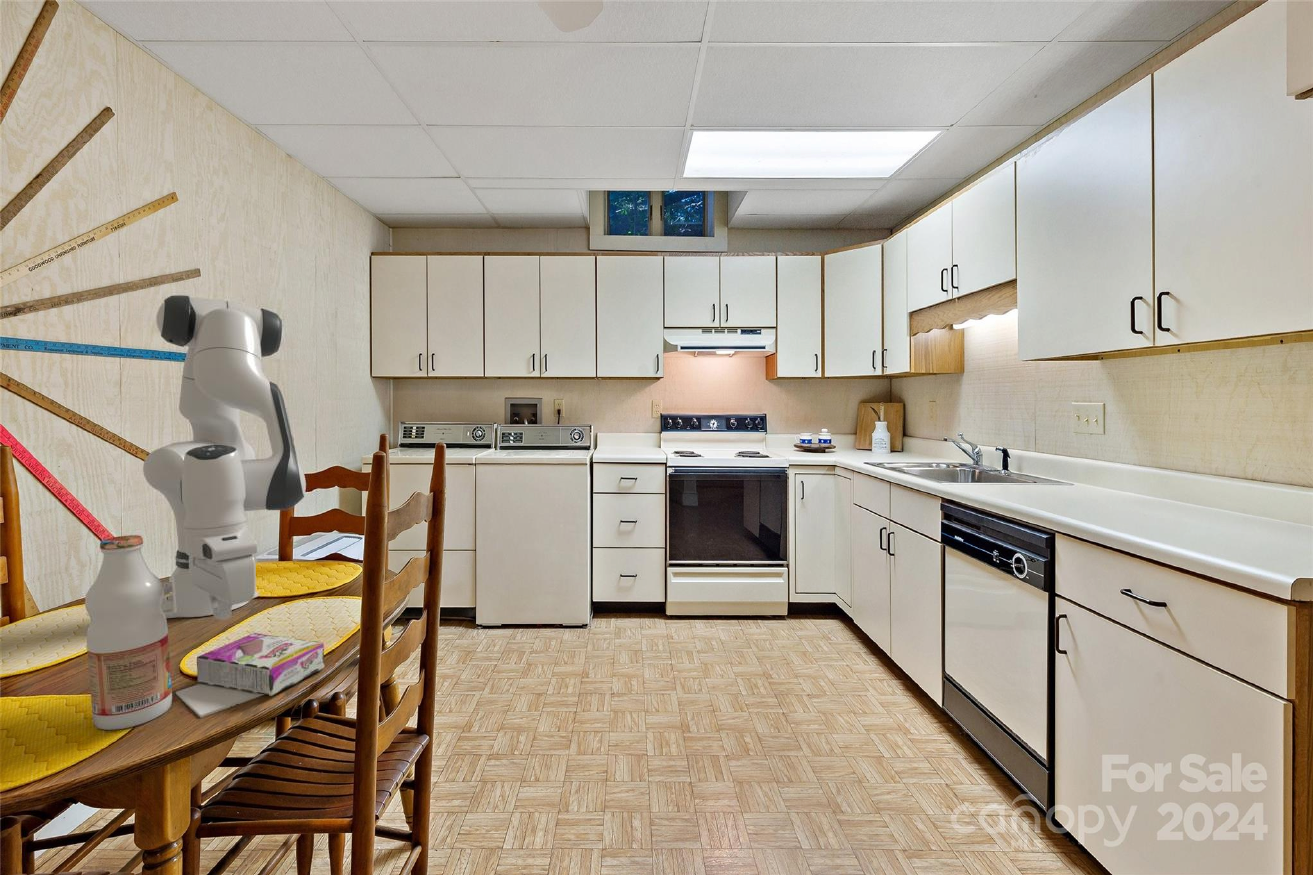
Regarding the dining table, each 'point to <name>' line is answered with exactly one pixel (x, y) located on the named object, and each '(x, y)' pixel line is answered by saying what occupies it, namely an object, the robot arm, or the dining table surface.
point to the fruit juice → (127, 639)
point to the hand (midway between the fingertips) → (222, 617)
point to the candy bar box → (260, 663)
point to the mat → (213, 698)
